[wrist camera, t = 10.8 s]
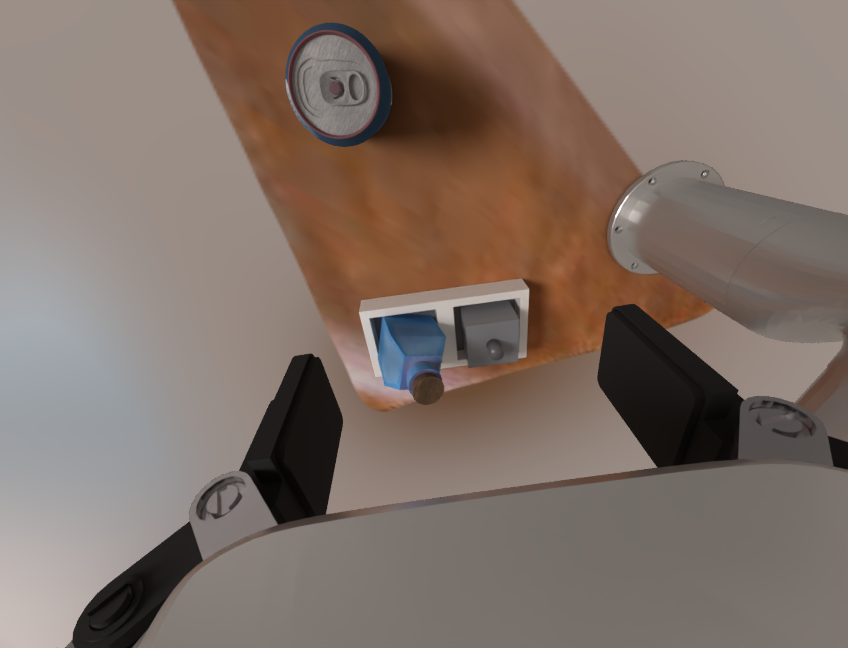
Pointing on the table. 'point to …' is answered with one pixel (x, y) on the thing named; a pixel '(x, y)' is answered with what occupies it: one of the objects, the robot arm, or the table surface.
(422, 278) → the table surface
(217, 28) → the table surface
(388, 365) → the perfume bottle
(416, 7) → the table surface
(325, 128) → the soda can
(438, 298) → the socket strip
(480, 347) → the charcoal plug block
